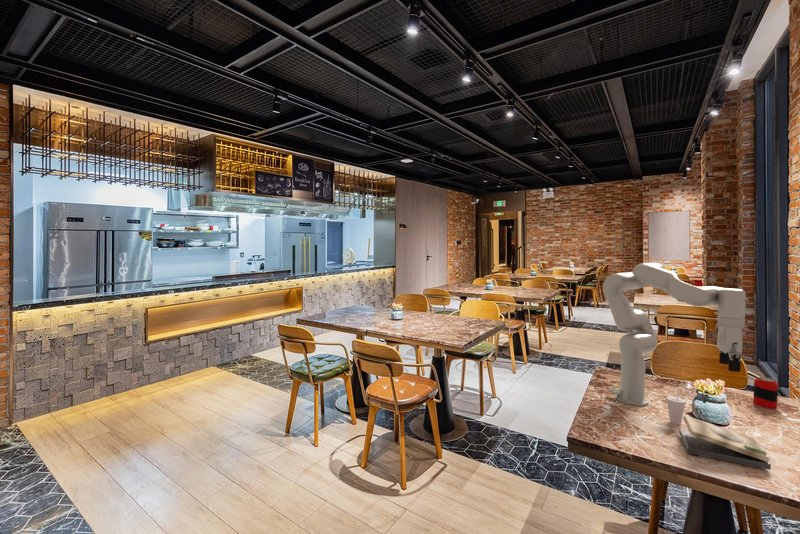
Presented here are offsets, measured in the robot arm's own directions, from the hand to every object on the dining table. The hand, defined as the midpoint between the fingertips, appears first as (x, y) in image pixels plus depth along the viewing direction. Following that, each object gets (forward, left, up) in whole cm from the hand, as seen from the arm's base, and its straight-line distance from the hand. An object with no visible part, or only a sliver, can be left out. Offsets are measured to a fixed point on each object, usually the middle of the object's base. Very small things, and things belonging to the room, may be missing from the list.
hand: (729, 367), depth 138 cm
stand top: (-5, -15, -21) cm, 26 cm away
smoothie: (-15, +5, -27) cm, 31 cm away
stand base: (-5, -15, -27) cm, 31 cm away
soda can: (+23, +44, -27) cm, 56 cm away
